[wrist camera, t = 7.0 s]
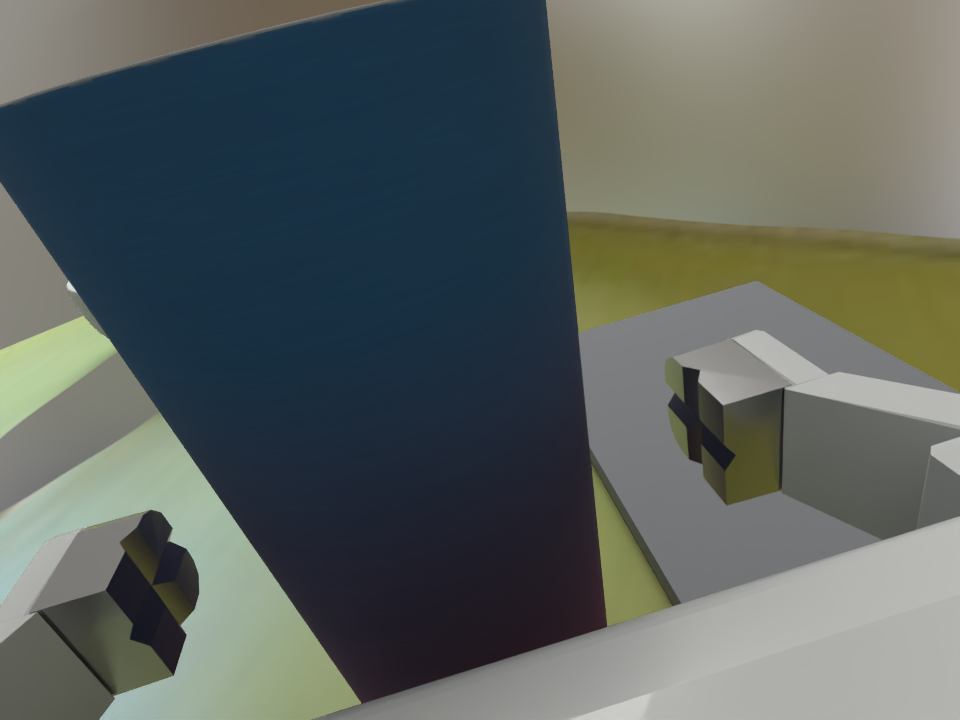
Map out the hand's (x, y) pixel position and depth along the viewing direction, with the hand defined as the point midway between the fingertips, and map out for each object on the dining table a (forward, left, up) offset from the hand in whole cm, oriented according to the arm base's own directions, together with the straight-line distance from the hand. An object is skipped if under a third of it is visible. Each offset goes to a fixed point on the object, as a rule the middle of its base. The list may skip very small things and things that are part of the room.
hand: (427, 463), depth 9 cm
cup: (0, +1, -9) cm, 9 cm away
